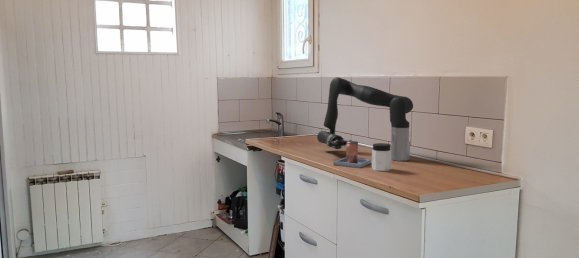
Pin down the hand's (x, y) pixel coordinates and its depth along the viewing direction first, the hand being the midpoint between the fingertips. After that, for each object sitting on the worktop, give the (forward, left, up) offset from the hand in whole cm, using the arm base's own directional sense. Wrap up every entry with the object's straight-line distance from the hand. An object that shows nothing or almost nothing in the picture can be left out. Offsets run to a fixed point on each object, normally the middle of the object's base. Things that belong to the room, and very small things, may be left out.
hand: (345, 145), depth 230 cm
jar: (-24, +12, -8) cm, 28 cm away
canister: (-7, +7, -8) cm, 13 cm away
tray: (-7, +7, -8) cm, 13 cm away
